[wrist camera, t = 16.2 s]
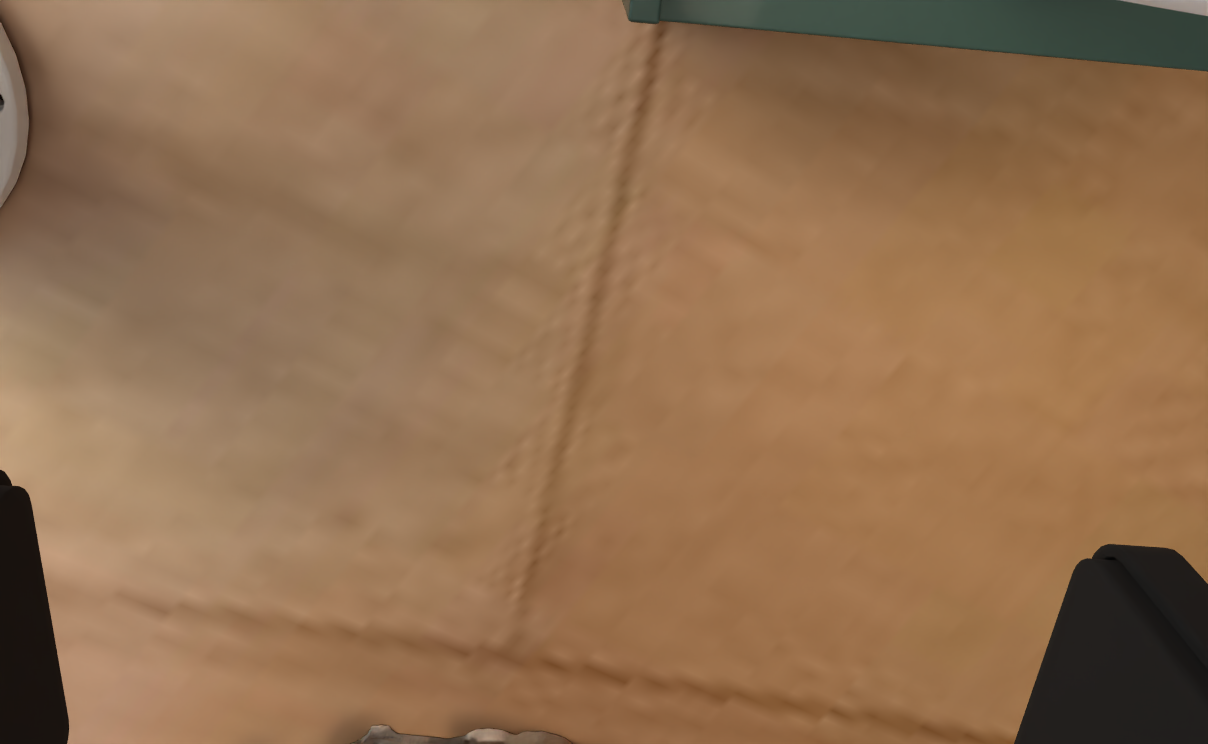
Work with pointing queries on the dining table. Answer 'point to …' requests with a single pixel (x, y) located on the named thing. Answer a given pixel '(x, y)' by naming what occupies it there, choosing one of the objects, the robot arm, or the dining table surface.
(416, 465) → the dining table surface
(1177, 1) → the can
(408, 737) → the food dish
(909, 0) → the step rack
